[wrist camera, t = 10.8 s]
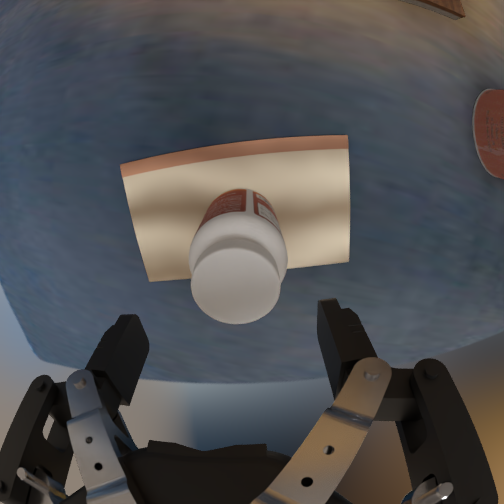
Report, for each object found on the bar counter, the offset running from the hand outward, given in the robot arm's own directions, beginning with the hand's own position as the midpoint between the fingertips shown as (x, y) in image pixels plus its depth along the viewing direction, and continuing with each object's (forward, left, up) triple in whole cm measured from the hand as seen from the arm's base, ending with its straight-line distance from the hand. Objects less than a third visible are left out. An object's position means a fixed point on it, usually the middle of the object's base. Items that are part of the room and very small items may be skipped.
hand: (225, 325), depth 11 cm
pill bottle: (0, 0, -14) cm, 14 cm away
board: (-1, 0, -14) cm, 14 cm away
